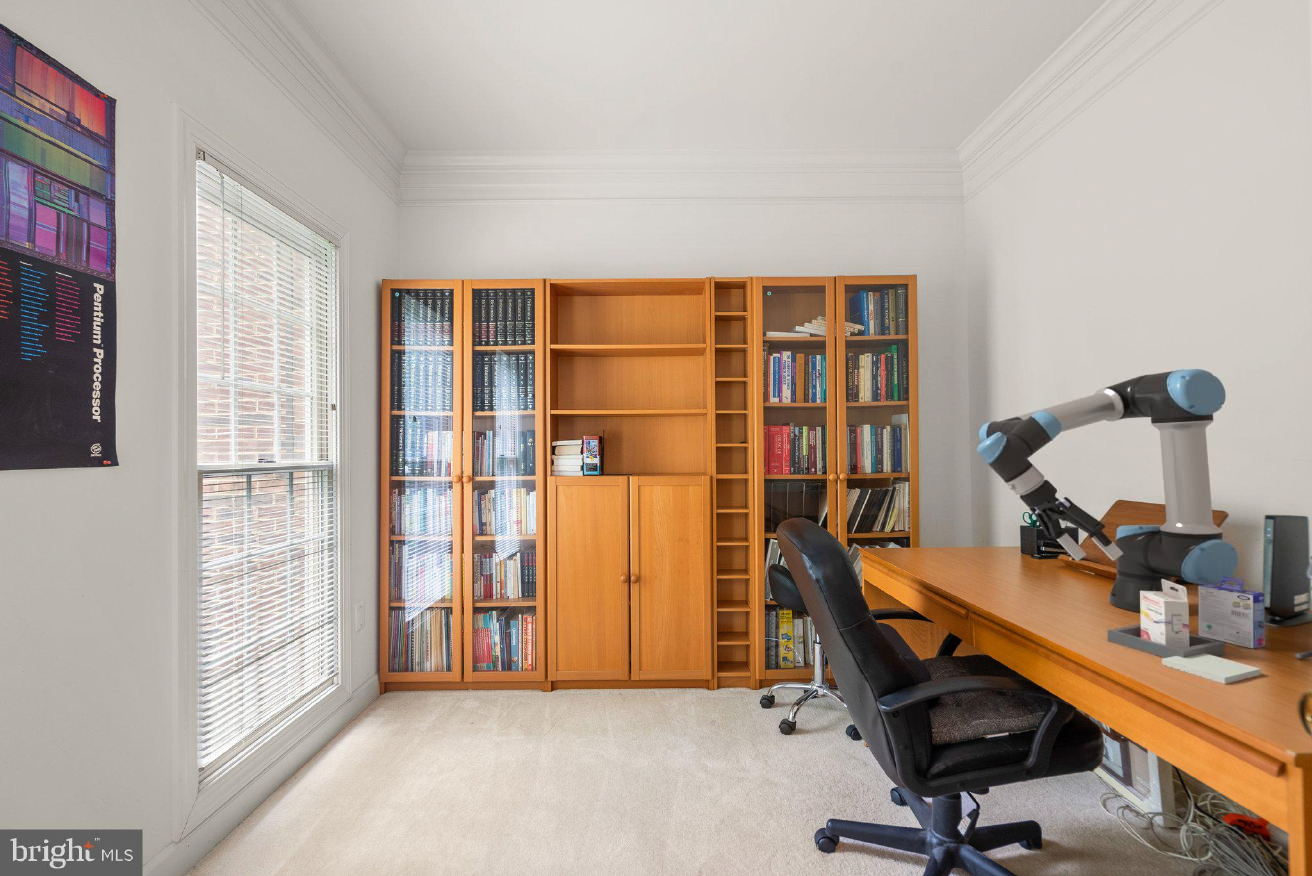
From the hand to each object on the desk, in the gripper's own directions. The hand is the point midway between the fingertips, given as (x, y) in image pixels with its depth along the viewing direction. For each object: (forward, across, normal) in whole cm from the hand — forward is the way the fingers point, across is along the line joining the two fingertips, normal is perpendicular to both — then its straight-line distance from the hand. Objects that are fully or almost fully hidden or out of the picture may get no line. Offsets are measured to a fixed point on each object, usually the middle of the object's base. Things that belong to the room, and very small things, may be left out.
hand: (1098, 557), depth 133 cm
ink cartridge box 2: (+31, -3, +10) cm, 33 cm away
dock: (+21, +3, -5) cm, 22 cm away
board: (+23, +15, -7) cm, 28 cm away
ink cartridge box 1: (+21, +3, -5) cm, 22 cm away
